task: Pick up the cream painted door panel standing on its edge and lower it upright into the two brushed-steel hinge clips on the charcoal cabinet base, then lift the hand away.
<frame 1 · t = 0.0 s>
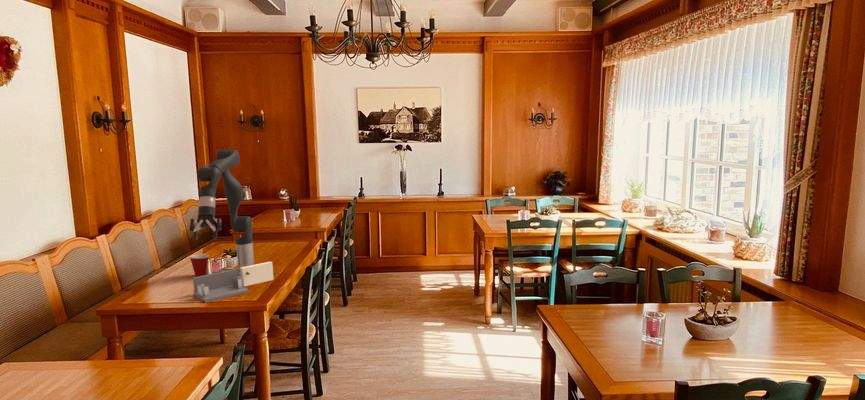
hand: (204, 239, 251), 31 cm above the table, tool tilted 20°, fingers open, 8 cm apart
plastic cup: (201, 275, 305), on the table
hinge bracket: (221, 293, 269), on the table
door: (257, 282, 288), on the table
tin: (232, 282, 289), on the table
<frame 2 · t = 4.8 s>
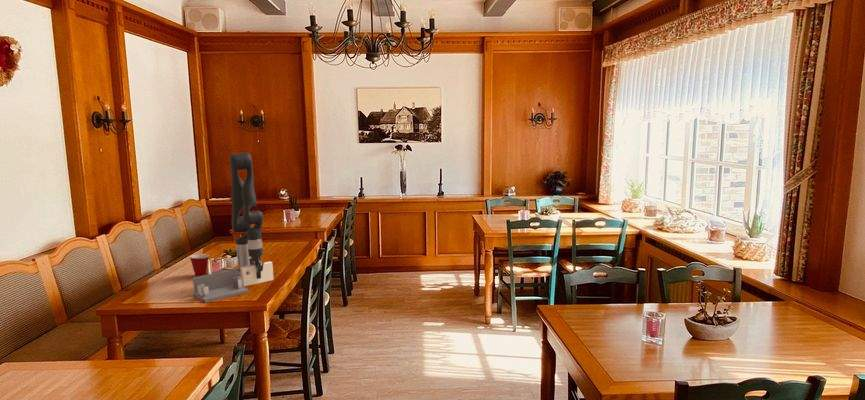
hand: (257, 277, 288), 3 cm above the table, tool pointing down, fingers closed on door, 3 cm apart
door: (257, 282, 288), on the table, touching gripper
everything else where it was.
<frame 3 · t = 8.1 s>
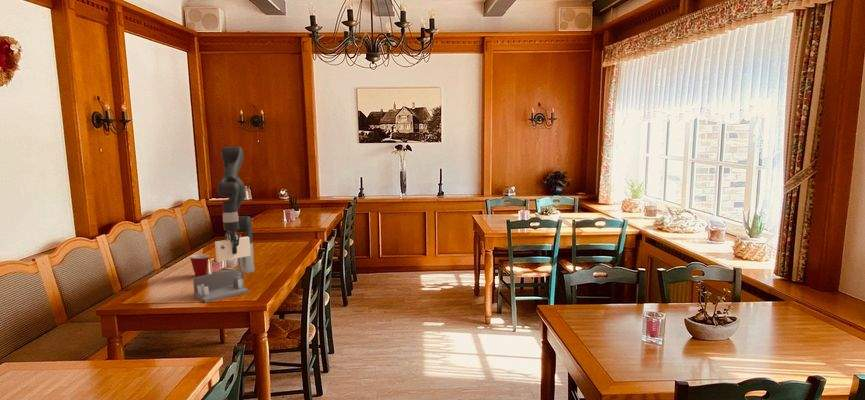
hand: (233, 253, 273), 20 cm above the table, tool pointing down, fingers closed on door, 3 cm apart
door: (233, 258, 273), point 17 cm above the table, touching gripper
everything else where it was.
when the fingers open (5 cm above the table, at t = 11.6 s): door stays where it is, resting on hinge bracket.
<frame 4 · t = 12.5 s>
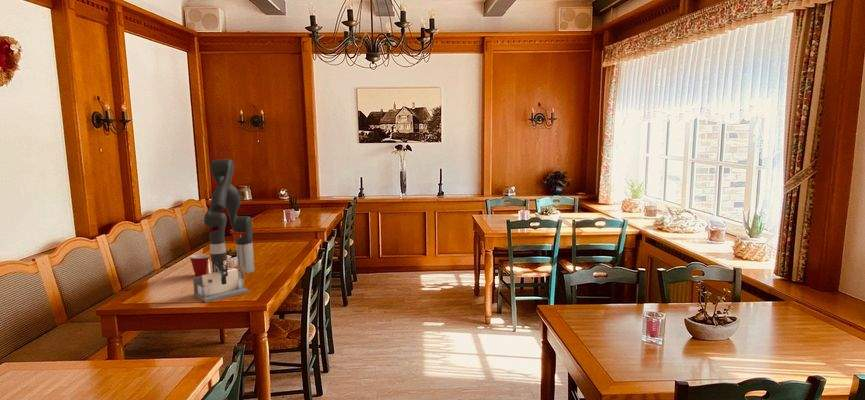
hand: (220, 282, 268), 6 cm above the table, tool pointing down, fingers open, 8 cm apart
door: (221, 291, 269), point 1 cm above the table, touching hinge bracket
everything else where it was.
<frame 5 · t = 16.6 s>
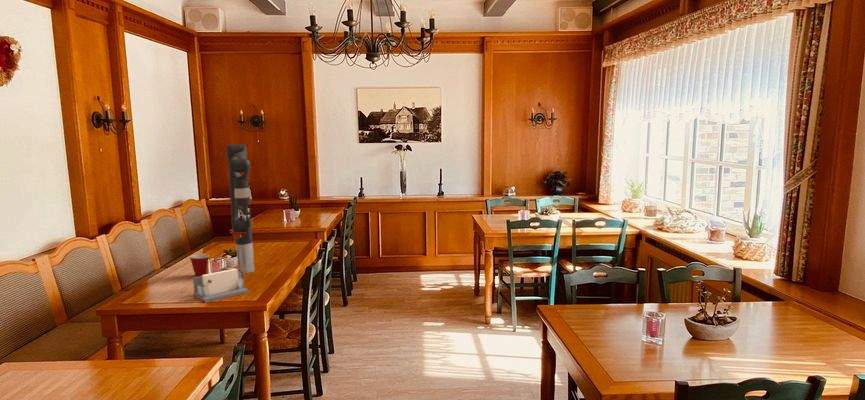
hand: (244, 226, 280), 32 cm above the table, tool pointing down, fingers open, 8 cm apart
nothing on the table moved.
at the end: door 0.1 cm off-centre on the hinge bracket, point 1.5 cm above the hinge bracket's base; door tilted 0°; the gripper is holding nothing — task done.
